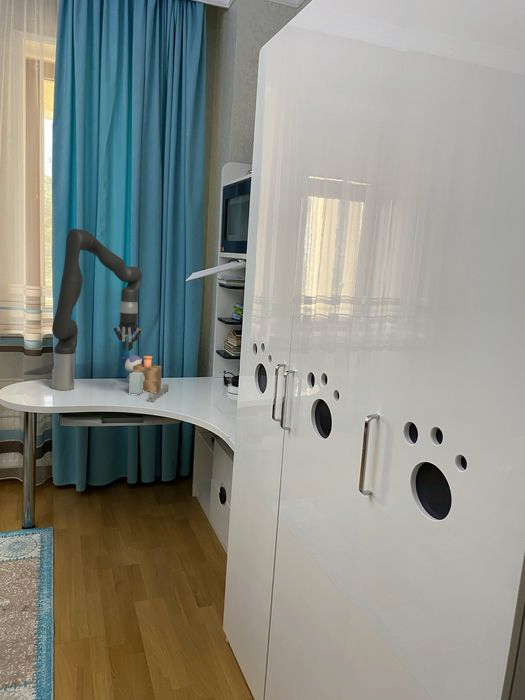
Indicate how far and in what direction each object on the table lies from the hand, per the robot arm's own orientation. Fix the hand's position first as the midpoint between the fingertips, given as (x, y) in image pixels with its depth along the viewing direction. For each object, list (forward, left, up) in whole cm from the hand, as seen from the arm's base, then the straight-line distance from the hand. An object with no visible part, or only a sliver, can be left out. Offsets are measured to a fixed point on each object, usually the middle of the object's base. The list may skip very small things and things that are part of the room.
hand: (127, 350), depth 266 cm
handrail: (+12, +12, -23) cm, 28 cm away
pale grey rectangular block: (0, +13, -23) cm, 26 cm away
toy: (-8, +31, -23) cm, 40 cm away
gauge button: (+2, +22, -15) cm, 26 cm away
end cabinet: (+2, +22, -23) cm, 32 cm away
